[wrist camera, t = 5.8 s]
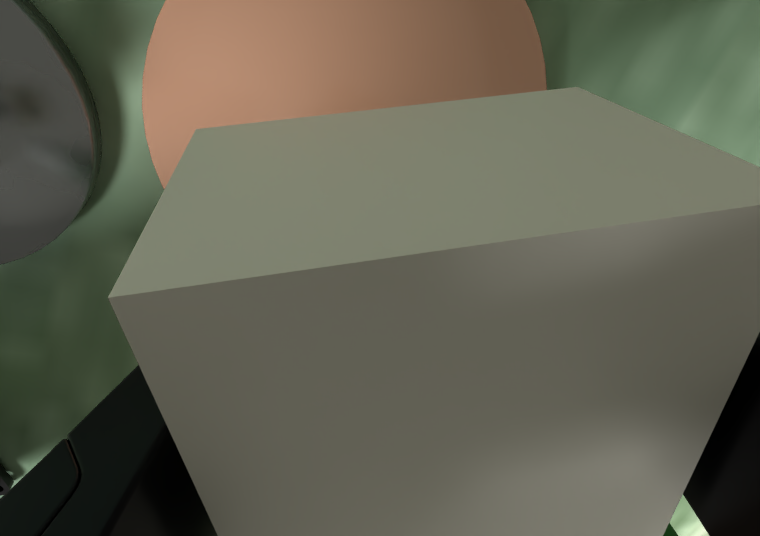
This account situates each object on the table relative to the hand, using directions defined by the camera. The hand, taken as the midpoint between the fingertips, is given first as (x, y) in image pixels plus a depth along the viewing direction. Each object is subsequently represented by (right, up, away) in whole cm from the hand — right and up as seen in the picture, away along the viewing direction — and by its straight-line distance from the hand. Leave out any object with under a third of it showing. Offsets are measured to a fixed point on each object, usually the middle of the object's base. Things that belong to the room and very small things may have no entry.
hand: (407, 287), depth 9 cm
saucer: (-1, +5, +8) cm, 10 cm away
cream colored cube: (0, 0, 0) cm, 1 cm away
